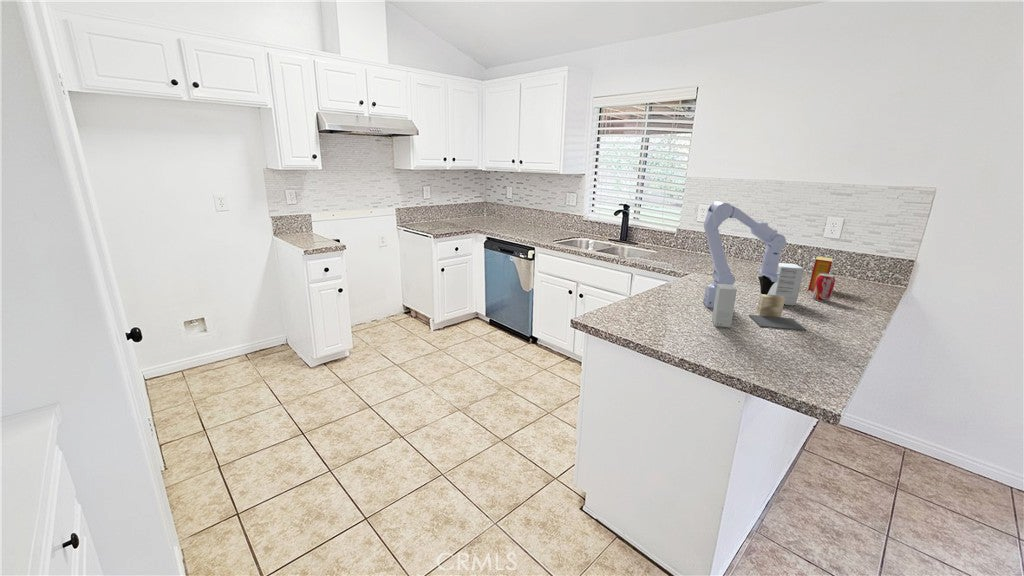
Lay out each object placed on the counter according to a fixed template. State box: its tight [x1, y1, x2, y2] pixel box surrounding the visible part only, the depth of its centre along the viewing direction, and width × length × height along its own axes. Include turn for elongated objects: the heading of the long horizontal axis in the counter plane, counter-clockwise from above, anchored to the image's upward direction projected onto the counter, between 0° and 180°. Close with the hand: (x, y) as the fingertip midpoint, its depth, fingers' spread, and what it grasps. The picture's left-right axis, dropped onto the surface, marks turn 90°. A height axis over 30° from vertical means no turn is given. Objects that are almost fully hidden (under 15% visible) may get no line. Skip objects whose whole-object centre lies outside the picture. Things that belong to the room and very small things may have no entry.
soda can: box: [811, 273, 836, 303], centre depth 196 cm, size 7×7×12 cm
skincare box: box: [711, 284, 738, 329], centre depth 162 cm, size 8×6×15 cm
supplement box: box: [767, 262, 805, 306], centre depth 190 cm, size 10×9×17 cm
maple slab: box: [756, 293, 785, 317], centre depth 173 cm, size 8×3×8 cm, turn 80°
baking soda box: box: [807, 255, 833, 292], centre depth 212 cm, size 10×6×16 cm
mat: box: [748, 314, 807, 332], centre depth 167 cm, size 16×12×1 cm
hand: (763, 294), depth 180 cm, fingers closed
